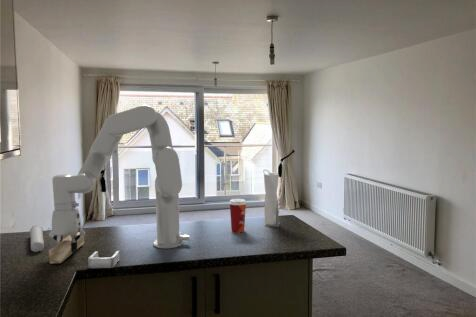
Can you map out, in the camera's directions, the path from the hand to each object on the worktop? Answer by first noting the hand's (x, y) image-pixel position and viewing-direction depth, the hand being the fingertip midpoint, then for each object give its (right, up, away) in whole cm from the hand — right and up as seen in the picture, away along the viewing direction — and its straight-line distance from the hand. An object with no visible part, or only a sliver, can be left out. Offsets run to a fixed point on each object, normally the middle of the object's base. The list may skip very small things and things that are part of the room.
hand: (68, 251), depth 149 cm
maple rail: (0, -1, 0) cm, 1 cm away
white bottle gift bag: (+84, +3, +42) cm, 94 cm away
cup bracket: (+18, -2, -9) cm, 20 cm away
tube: (-19, -1, +13) cm, 23 cm away
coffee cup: (+67, +2, +31) cm, 74 cm away
